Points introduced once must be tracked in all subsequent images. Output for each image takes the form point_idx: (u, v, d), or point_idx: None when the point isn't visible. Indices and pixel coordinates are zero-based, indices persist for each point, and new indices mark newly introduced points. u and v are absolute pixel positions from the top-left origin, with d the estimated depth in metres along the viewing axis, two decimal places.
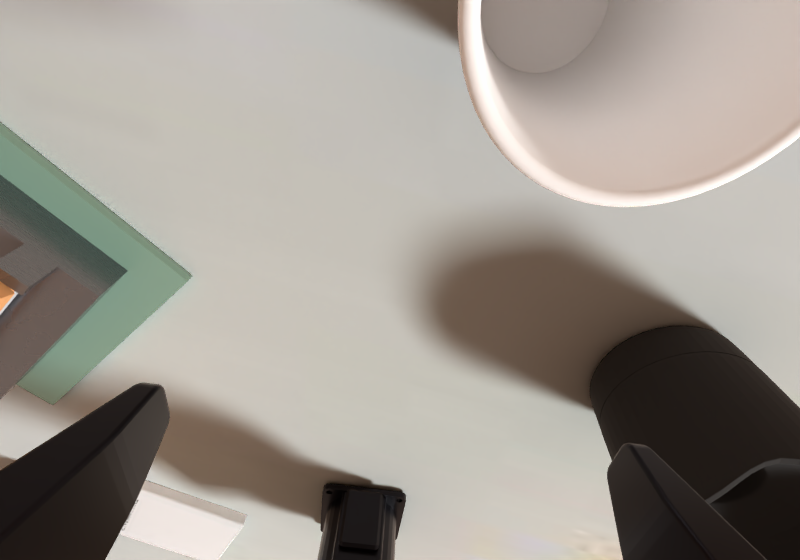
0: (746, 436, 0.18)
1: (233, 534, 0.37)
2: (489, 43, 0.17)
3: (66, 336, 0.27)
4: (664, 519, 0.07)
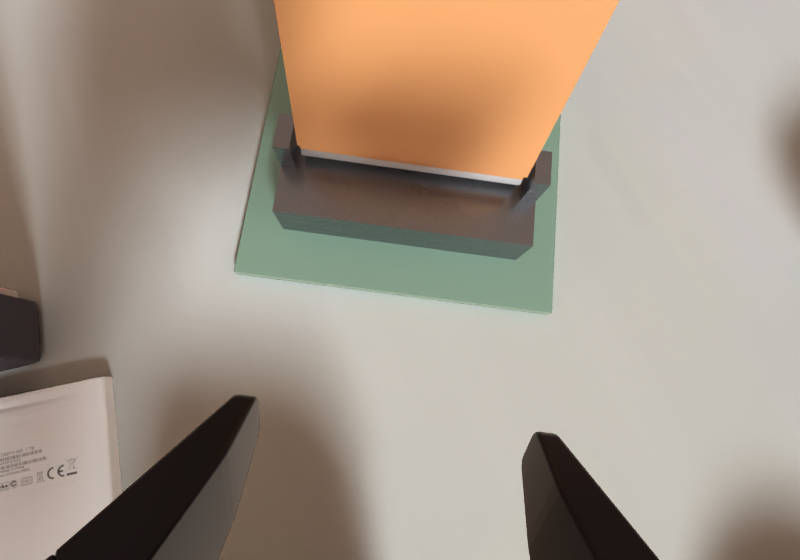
0: None
1: None
2: None
3: (376, 243, 0.22)
4: (557, 506, 0.07)
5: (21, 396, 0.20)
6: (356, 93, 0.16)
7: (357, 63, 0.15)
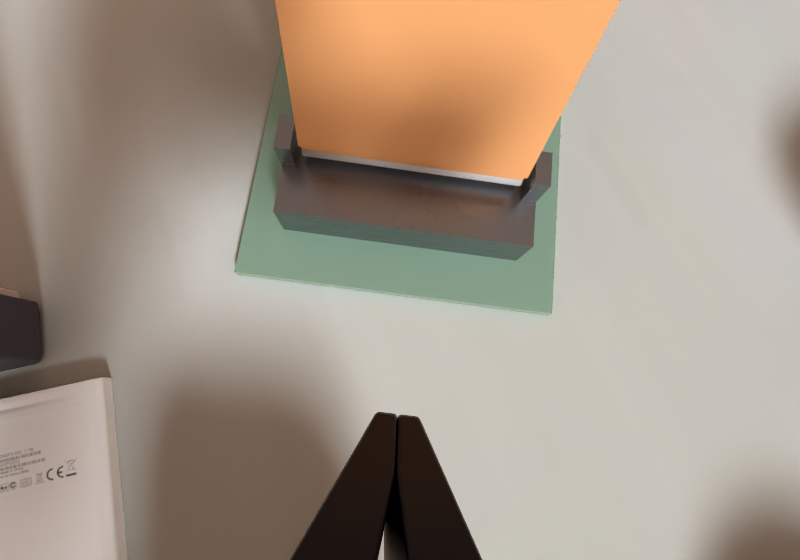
0: None
1: None
2: None
3: (376, 243, 0.22)
4: (394, 487, 0.07)
5: (19, 397, 0.19)
6: (357, 93, 0.16)
7: (358, 64, 0.15)
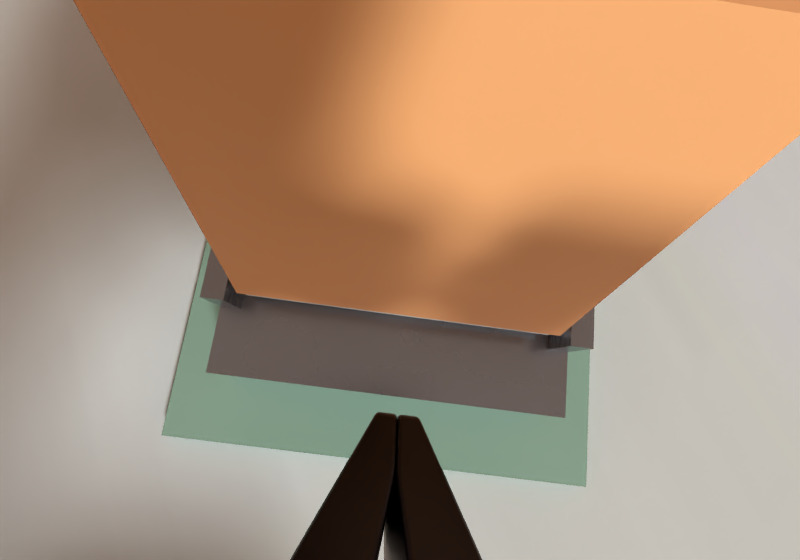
0: None
1: None
2: None
3: (353, 391, 0.17)
4: (394, 487, 0.07)
5: None
6: (311, 251, 0.11)
7: (307, 222, 0.09)
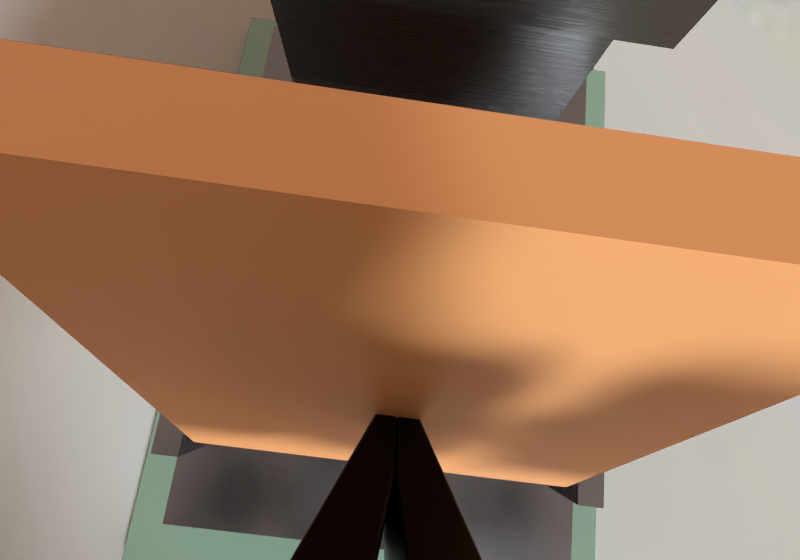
0: None
1: None
2: None
3: None
4: (394, 487, 0.07)
5: None
6: (275, 419, 0.09)
7: (267, 400, 0.08)
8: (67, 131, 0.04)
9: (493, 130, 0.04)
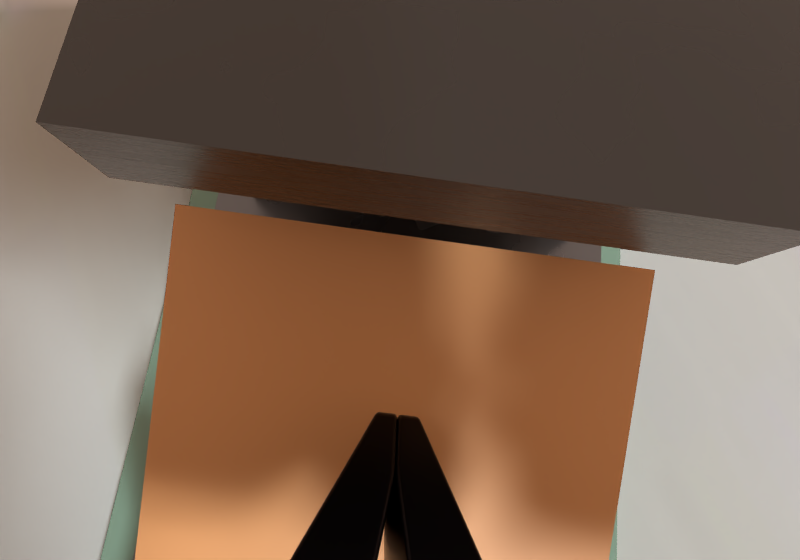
0: None
1: None
2: None
3: None
4: (394, 487, 0.07)
5: None
6: (261, 537, 0.09)
7: (268, 480, 0.09)
8: None
9: None
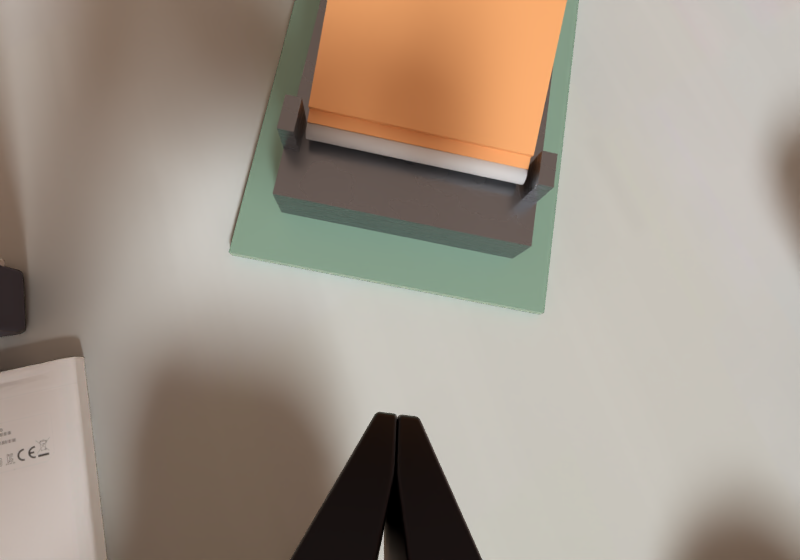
0: None
1: None
2: None
3: (374, 232, 0.22)
4: (394, 487, 0.07)
5: None
6: (381, 45, 0.19)
7: (387, 16, 0.18)
8: None
9: None
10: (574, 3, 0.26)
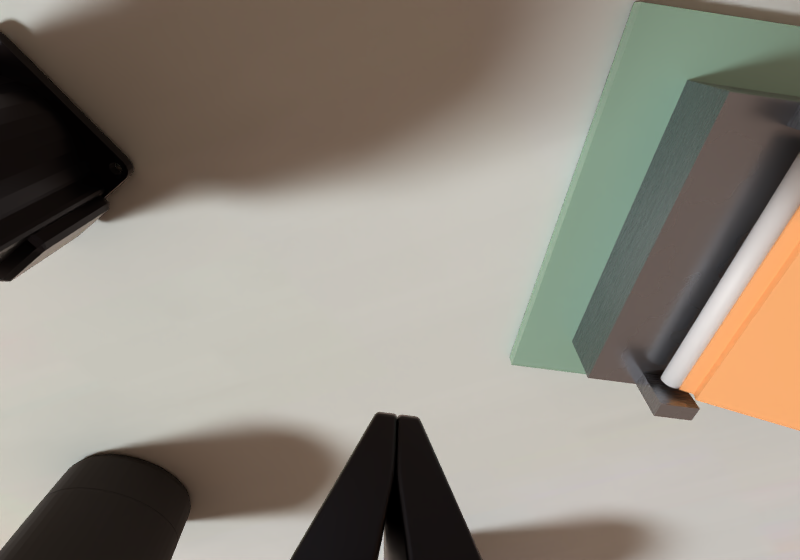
0: None
1: None
2: None
3: (629, 205, 0.18)
4: (394, 487, 0.07)
5: None
6: None
7: None
8: None
9: None
10: None
